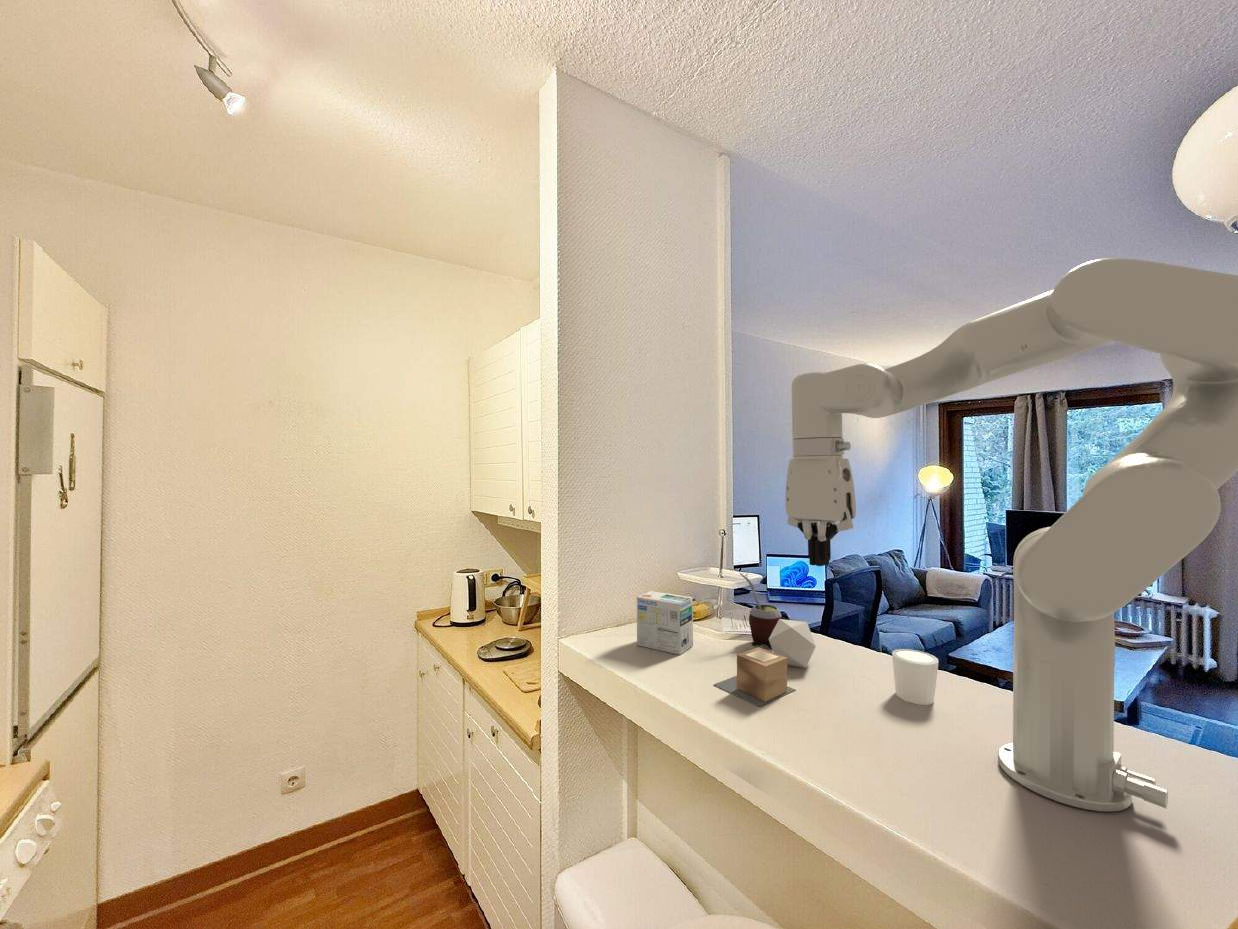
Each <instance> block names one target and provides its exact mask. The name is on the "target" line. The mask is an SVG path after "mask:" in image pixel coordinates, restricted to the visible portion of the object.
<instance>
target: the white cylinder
mask: <svg viewBox="0 0 1238 929" xmlns="http://www.w3.org/2000/svg"><path fill="white" fill-rule="evenodd" d="M891 656H892V667H893V669H892V670H893V677H894V687H895V689H894V690H895V695H896V696H897V698H899V699H900V700H902V701H905V702H907V703H910V704H914V705H919V706H920V705H922V706H923V705H924V706H929V705H932V704H933V703H934V702H935V695H936V687H937V677H938V670H939V658H938V657H936V656H935V655H933V654H930V653H928V652H925V651H921V650H916V649H911V648H909V649H908V648H907V649H906V648H900V649H894V650H893V651H892V653H891Z"/></svg>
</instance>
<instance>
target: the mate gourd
mask: <svg viewBox="0 0 1238 929" xmlns="http://www.w3.org/2000/svg"><path fill="white" fill-rule="evenodd" d="M739 575H740V576H741V577H742V578H744V580H745V581H747V582H748V584H749V587H750V589H751V591H752V594H753V597H754V600H755V603H756V605H753V607H752V608H751V609H750V611H749V615H748V624H749V628H750V633H751V637H752V642H751V645H752V646H753V647H756V646H758V647H759V646H766V647H767V648H769V649H770V650H772V647H771V644H770V642H769V637H770V636H771V634H772V632H773V630H774V628H775V626H776V624H777V622H778V621H779V619H783V616H782V612H781V611H780V609H779V608H778V607H777V606H775V605H772V604H765V603H764V604H763V603H762V604H760V601H759V599H758V596H757V593H756V590H755V585H754V583H753V582H752V581H751V579H749V578H748V577H746V576H745V575H744V574H743V573H741V572H739Z"/></svg>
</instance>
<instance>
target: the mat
mask: <svg viewBox="0 0 1238 929" xmlns="http://www.w3.org/2000/svg"><path fill="white" fill-rule="evenodd" d="M713 686H715V687H716V688H719V689H721V690H723V691H725V692H727V693H728V694H732V695H734V696H735V697H738V698H740V699H742V700H744V701H745V702H749V703H750V704H753V705H754V706H755V707H756V706H757V707H759V708H761V707H762V706H764V705H766V704H769V703H772V702H774V701H775V700H778V699H780V698H782V697H784V696H787V695H789V694H790V693H792V692H795V691H796V689H795V688H793V687H790V686H788V685H787V692H785V693H783V694H781V695H779V696H777V697H775V698H772V699H770V700H768V701H766V702H765V701H763V700H760V699H758V698H756V697H754V696H752V695H750V694H748V693H745V692H743V691H741V690H739V689H737V675H734V676H732V677H730V678H727V679H724V680H721V681H718V682H716V683H714V684H713Z"/></svg>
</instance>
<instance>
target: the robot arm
mask: <svg viewBox="0 0 1238 929" xmlns="http://www.w3.org/2000/svg"><path fill="white" fill-rule="evenodd" d="M1112 342H1114V343H1119V344H1120V345H1125V346H1129V347H1133V348H1136V349H1140V350H1144V351H1149V352H1152V353H1153V352H1154V353H1157V354H1159V357H1160V360H1161V362H1162V365H1163V366H1164V368H1165V369H1166V370H1167V372H1168V374H1169V376H1170V377H1171V380H1172V384H1173V388H1172V395H1171V397H1170V399H1169V400H1168V402H1167V404H1166V405H1165V406H1164V408H1163V409H1162V410H1161V411H1160V412H1159V413H1158V414H1157V415H1156V416H1155V417H1154V418H1153V420H1151V422H1149V424H1148V425H1147V426H1146V427H1144V429H1143V430H1142V431H1141V432H1140V434H1138V435H1137V436H1136V437H1135V438H1134V439H1133V440H1132V441H1130V442H1129V443H1128V445H1126V446H1125V447H1124V448H1123V449H1122V450H1121V451H1120V452H1119V453H1118V454H1117V455H1116V456H1115V457H1114V458H1112V459H1111V460H1110V461H1109V462H1108V463H1107V464H1105V465H1104V466H1103V467H1102V468H1099V469H1098V470H1097V471H1096V472H1095V473H1094V474H1093V475H1092V476H1091V477H1090V478H1089V479H1088V481H1087V482H1086V484H1085V486H1084V489H1083V491H1082V496H1081V497H1080V498H1079V499H1078V500H1077V501H1076V502H1075V503H1074V504H1072V506H1070V508H1069V509H1068V510H1066V511H1065V512H1064V513H1063V514H1062V515H1061V516H1060V517H1059V518H1058V519H1057V520H1056V521H1055V522H1054V523H1053V524H1052V525H1051V526H1047V527H1042V528H1038V529H1037V530H1035V531H1032V532H1030V533H1029V534H1027V535H1026V536H1025V537H1023V539H1022V540H1021V541H1020V542H1019V543H1018V544H1017V547H1016V548H1015V551H1014V555H1013V563H1012V564H1013V565H1012V570H1013V571H1012V573H1013V574H1012V575H1013V576H1012V577H1013V658H1012V659H1013V662H1012V664H1013V665H1012V666H1013V677H1012V678H1013V680H1012V682H1013V684H1012V688H1013V689H1012V692H1013V693H1012V698H1013V699H1012V700H1013V701H1012V703H1013V704H1012V742H1011V743H1007V744H1004V745H1002V746H1001V747H1000V748H999V749H998V752H997V759H998V762H997V763H998V764H999V766H1000V768H1002V770H1003V771H1004V772H1005V773H1006V775H1008V776H1009V777H1010V778H1011V779H1013V780H1014V781H1016V782H1017V783H1018V784H1020V785H1021V786H1023V787H1025V788H1026V789H1028V790H1031V791H1032V792H1034V793H1036V794H1038V795H1040V796H1043V797H1044V798H1047V799H1050V800H1053V801H1055V802H1058V803H1060V804H1064V805H1066V806H1071V807H1074V808H1078V809H1082V810H1087V811H1094V812H1107V813H1108V812H1109V813H1111V812H1119V811H1123V810H1127V808H1129V807H1130V806H1131V804H1132V802H1133V797H1136V798H1139V799H1142V800H1143V802H1147V803H1150V804H1153V805H1155V806H1158V807H1159V808H1163V809H1167V808H1168V803H1169V792H1168V789H1165V788H1162V787H1159V786H1156V784H1157V779H1156V778H1154V777H1151V776H1148V775H1145V774H1142V773H1138V772H1136V771H1132V770H1129V769H1128V767H1127V766H1125V765H1122V754H1121V753H1120V752H1118V751H1114V741H1115V740H1114V739H1115V738H1114V737H1115V735H1114V734H1115V733H1114V732H1115V728H1114V727H1115V721H1114V720H1115V666H1116V633H1115V613H1116V612H1117V611H1119V610H1121V609H1122V608H1123V607H1125V606H1126V605H1127V604H1129V603H1130V602H1132V601H1133V600H1134V599H1135V598H1136V597H1138V596H1139V595H1140V594H1142V593H1143V592H1144V591H1145V590H1146V589H1148V588H1149V587H1150V586H1151V585H1153V584H1154V583H1155V582H1156V581H1157V580H1159V579H1160V578H1162V576H1164V575H1165V574H1166V573H1167V572H1168V571H1170V570H1171V569H1172V568H1173V567H1174V566H1175V565H1176V564H1178V563H1179V562H1180V561H1181V560H1183V559H1184V558H1185V557H1186V556H1187V555H1189V554H1190V553H1191V552H1192V551H1193V550H1194V549H1195V548H1197V547H1198V546H1199V545H1200V544H1201V543H1202V542H1204V540H1206V538H1207V537H1208V536H1209V535H1210V533H1211V532H1212V530H1213V529H1214V527H1215V526H1216V524H1217V522H1218V520H1219V518H1220V514H1221V510H1222V509H1221V508H1222V502H1221V497H1220V496H1221V495H1220V494H1219V491H1218V490H1219V489H1220V487H1222V486H1223V485H1224V484H1226V482H1227V481H1229V480H1230V478H1232V477H1233V476H1234V475H1235V474H1236V473H1237V472H1238V275H1236V274H1231V273H1223V272H1219V271H1218V272H1217V271H1211V270H1205V269H1200V268H1193V267H1187V266H1183V265H1182V266H1181V265H1176V264H1170V263H1166V262H1165V263H1163V262H1157V261H1151V260H1144V259H1136V258H1131V257H1130V258H1128V257H1127V258H1126V257H1106V258H1098V259H1095V260H1090V261H1087V262H1084V263H1082V264H1080V265H1078V266H1076V267H1074V268H1072V269H1071V270H1068V272H1067V273H1066V274H1064V275H1063V276H1062V277H1061V279H1059V280H1058V282H1057V283H1056V285H1055V286H1054V288H1053V289H1052V290H1050V291H1047V292H1044V293H1042V294H1039V295H1037V296H1034V297H1032V298H1030V299H1027V300H1025V301H1021V302H1019V303H1016V304H1013V305H1011V306H1008V307H1006V308H1003V309H1000V310H998V311H995V312H993V313H990V314H987V315H984V316H982V317H980V318H976V319H974V320H972V321H971V320H970V321H969V322H967V323H964V324H963V325H961V326H960V327H959V328H957V329H956V330H954V332H952V333H951V334H950V335H949V336H948V337H947V338H946V339H944V341H942V342H941V343H940V344H939V345H937V346H936V347H934V348H933V349H931V350H929V351H927V352H925V353H923V354H921V355H920V356H917V357H914V358H912V359H910V360H907V361H904V362H901V363H899V364H896V365H893V366H890V367H887V368H885V369H884V368H883V367H881V366H879V365H878V364H874V363H859V364H854V365H850V366H846V367H843V368H839V369H834V370H831V371H815V372H814V371H813V372H806V373H802V374H799V375H797V376H796V377H794V379H793V380H792V382H791V424H792V425H791V427H792V430H791V432H792V438H791V439H792V441H791V442H792V459H789V462H788V466H787V473H786V482H785V494H784V495H785V497H784V498H785V501H784V502H785V503H784V504H785V507H784V508H785V514H786V516H787V525H789V526H791V527H794V528H797V529H798V530H800V532H802V534H803V537H804V538H805V540H806V541H807V553H808V554H807V557H808V558H809V565H810V566H817V567H823V566H828V565H829V564H830V560H831V558H832V557H831V554H832V552H831V541H832V540H834V537H835V536H836V535H837V534H838V533H839V532H844V531H849V530H853V528H854V523H853V520H854V519H855V518H856V517H857V504H856V503H857V501H856V500H857V499H856V492H855V484H854V476H853V472H852V467H851V463H850V459H849V458H844V456H843V455H844V454H845V451H850V450H851V449H852V448H851V443H850V442H849V441H845V440H844V438H843V414H852V415H857V416H863V417H866V418H870V419H880V418H885V417H889V416H893V415H895V414H899V413H903V412H905V411H909V410H912V409H915V408H917V407H918V408H919V407H921V406H924V405H927V404H931V403H934V402H937V401H940V400H942V399H945V398H947V397H950V396H953V395H956V394H959V393H963V392H965V391H968V390H971V389H974V388H977V387H980V386H982V385H984V384H986V383H987V384H988V383H989V382H993V381H995V380H999V379H1001V378H1002V379H1003V378H1005V377H1008V376H1012V375H1014V374H1017V373H1021V372H1022V371H1026V370H1029V369H1032V368H1033V369H1034V368H1035V367H1039V366H1042V365H1045V364H1049V363H1051V362H1052V363H1053V362H1055V361H1058V360H1062V359H1065V358H1068V357H1072V356H1075V355H1078V354H1081V353H1084V352H1087V351H1090V350H1092V349H1095V348H1096V349H1097V348H1099V347H1101V346H1105V345H1107V344H1110V343H1112Z"/></svg>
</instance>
